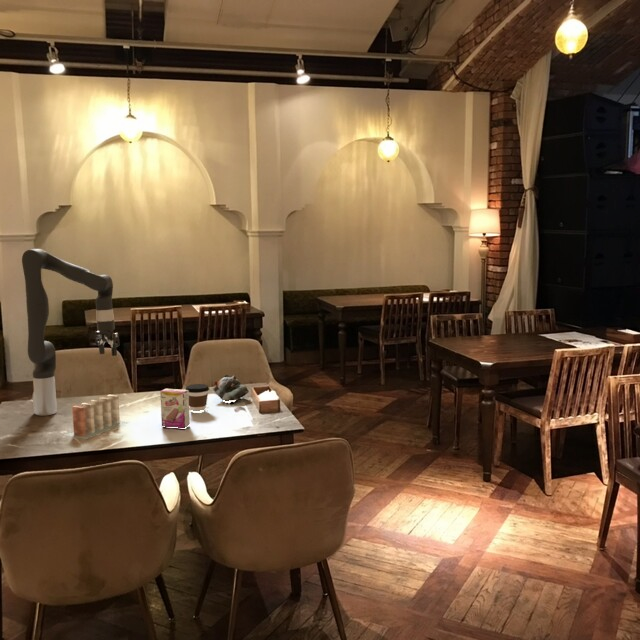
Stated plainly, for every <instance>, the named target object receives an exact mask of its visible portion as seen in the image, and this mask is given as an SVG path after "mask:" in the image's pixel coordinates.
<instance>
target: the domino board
mask: <svg viewBox="0 0 640 640" xmlns="http://www.w3.org/2000/svg"><path fill="white" fill-rule="evenodd" d="M129 423H130V421H125V420H120V423H112V426H103V429H101V430H99V429H95V432H94V433H89V432H86V436H77V435H74V431H72V432H69V433H65V434H63V436H65V437H71V438H76V439H82V440H88V439H90V438H92V437H96V436H97V435H100V434H103V433H105V432H108V431H110V430H113V429H116V428H118V427H122V426H124V425H126V424H129Z"/></svg>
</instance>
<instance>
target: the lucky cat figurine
mask: <svg viewBox="0 0 640 640" xmlns="http://www.w3.org/2000/svg"><path fill="white" fill-rule="evenodd" d="M212 390H213V392H214V393H215V394H216V395H217V396H218V397H219V398H220V399H221V400H222V401H223V400H225V401H229V400H237V401H238V400H240V399H241V398H243V397H245V396H246V395H247V394H248V393H249V392H250V391H249V389H248V387H247V386H245V385H244V384H241V381H240V380H238V379H237V376H235V375H232V376H229V375H227V374H225V375H224V377H222V378H220V379H219V380H215V381H214V382H213V387H212Z"/></svg>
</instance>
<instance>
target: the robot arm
mask: <svg viewBox="0 0 640 640" xmlns="http://www.w3.org/2000/svg"><path fill="white" fill-rule="evenodd" d="M21 263H22V271H23V276H24V283H25V297H26V299H25V300H26V301H25V302H26V314H27V315H26V316H27V332H28V334H27V336H28V337H27V338H28V339H27V355H28V358H29V360H30V361H31V362H32V363H33V364H35V365H36V366H35V367H34V369H33V371H32V382H33V383H32V384H33V392H32V404H33V414H35V415H36V416H42V417H43V416H50V415H54V414H56V413H57V411H58V408H57V407H58V406H57V393H56V391H57V390H56V379H55V372H56V368H57V358H56V357H57V356H56V355H57V353H56V348H55V346H54V344H53V343H52V342H50V341H49V340H48V341H47V340H45V330H46V326H47V322H48V319H49V315H50V303H49V297H48V296H49V295H48V294H47V291H46V289H45V287H44V284H43V281H42V270H46V271H47V270H48V271H52V272H55V273H57V274H59V275H61V276H62V277H64V278H67V279H68V280H70V281H72V282H76V283H77V284H78V283H79V284H81V285H84V286H85V287H88V288H89V289H90V290H93V291H96V292H97V296H96V299H95V310H96V313H95V316H96V318H95V319H96V329H97V331H94V344H95V345H97V347H98V349H99V350H98V351H99V355H104V354H105V353H106V352H105V343H108V344H109V345H110V347H111V348H110V349H111V356H112V357H115V356H118V355H117V354H118V352H117V351H118V349H117V348H118V347H120V346H121V345H120V344H121V342H120V335H119V333H118V332H115V333H114V330H115V329H116V326H115V325H116V324H115V316H114V308H113V299H112V298H113V289H114V282H113V280H112V277H111V276H110V275H108V274H96V273H93V272H92V271H91V270H90V269H88V268H85V267H82V266H79V265H77V264H74V263H71V262H68V261H65V260H63V259H61V258H58V257H57V256H55V255H53V254H51V253H50V252H47V251H45V250H44V249H42V248H29V249H27V250H25V251H24V252H23V253H22V256H21Z"/></svg>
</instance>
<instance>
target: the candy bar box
mask: <svg viewBox="0 0 640 640" xmlns="http://www.w3.org/2000/svg"><path fill="white" fill-rule="evenodd" d="M160 410H161V411H160V412H161V413H160V415H161V416H160V417H161V427H162V426H165V427H178V428H185V427H187V426H188V425H189V424H190V423H191V422H190V421H191V420H190V406H189V390H185V389H176V388H164V389H162V390H160Z"/></svg>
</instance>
